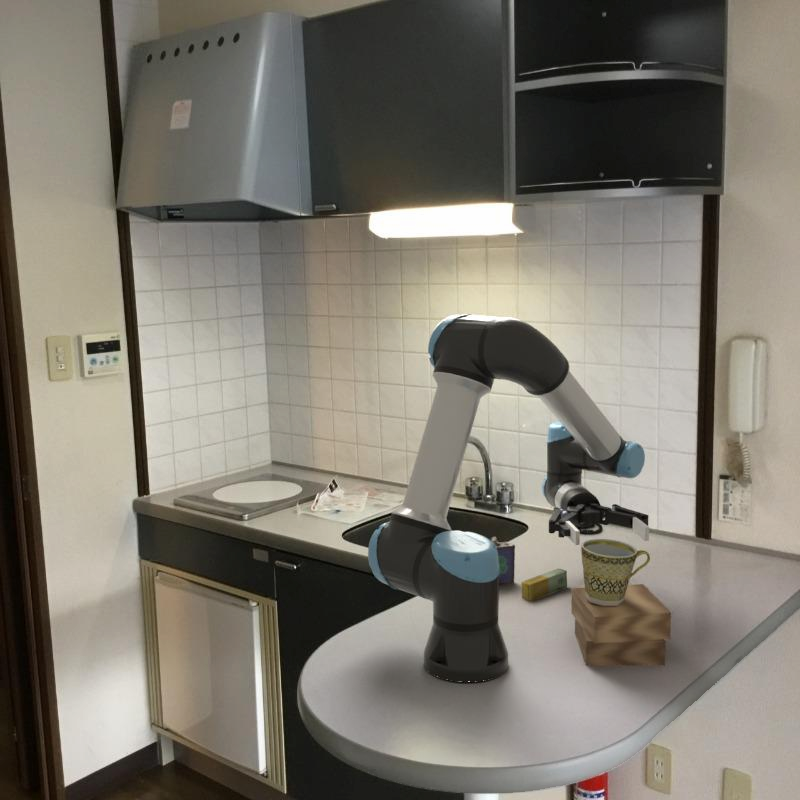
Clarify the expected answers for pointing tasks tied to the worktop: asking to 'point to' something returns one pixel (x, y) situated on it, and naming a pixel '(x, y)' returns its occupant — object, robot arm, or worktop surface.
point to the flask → (505, 561)
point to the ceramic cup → (608, 569)
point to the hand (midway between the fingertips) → (612, 536)
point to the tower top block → (623, 617)
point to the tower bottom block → (620, 651)
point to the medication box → (544, 584)
